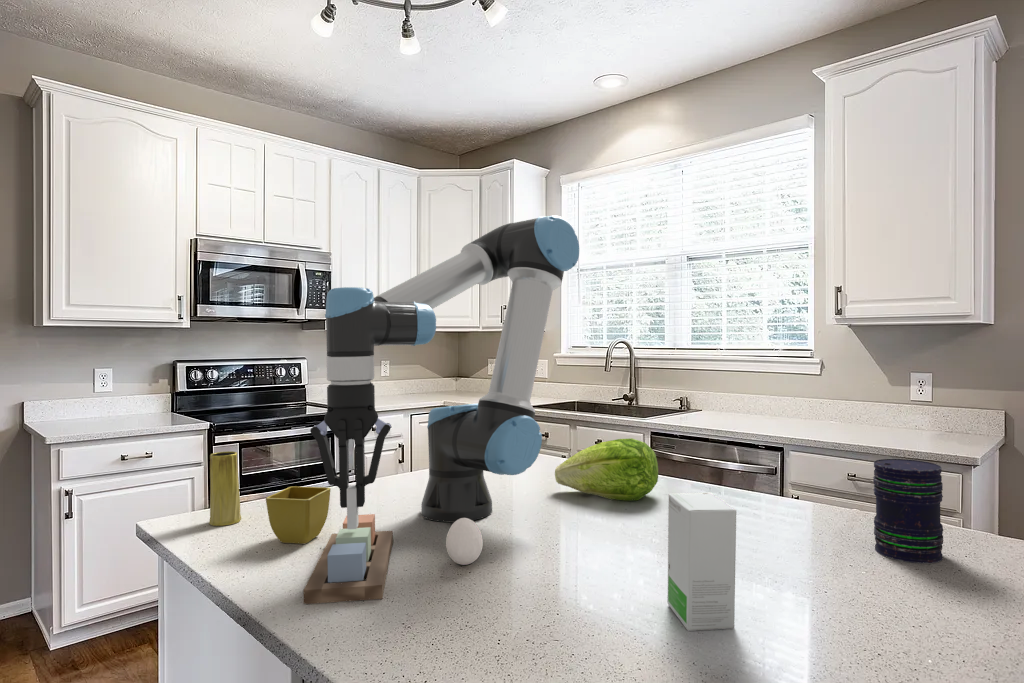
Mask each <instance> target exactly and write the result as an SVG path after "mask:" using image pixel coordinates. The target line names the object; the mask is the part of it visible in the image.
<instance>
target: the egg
mask: <svg viewBox="0 0 1024 683" xmlns="http://www.w3.org/2000/svg"><path fill="white" fill-rule="evenodd" d="M482 535H483V534H482V532H481V530H480V528H479V526H478V524H476V522H475V521H474V520H470V519H468V518H460V519H458V520H457V521H455V522H452V524H451V526H450V527H449V530H448V532H447V534H446V539H445V546H446V548H445V549H446V552H447V553H448V556H449V557H450V559H451V560H452V561H453V562H454V563H456V564H458V565H461V566H468V565H471V564H472V563H473V562H475V561H476V560H478V558H479V556H480V555H481V553H482V550H483V544H484V543H483V536H482Z"/></svg>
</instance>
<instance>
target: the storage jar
mask: <svg viewBox="0 0 1024 683" xmlns="http://www.w3.org/2000/svg"><path fill="white" fill-rule="evenodd" d="M873 468H874V470H873V489H872V490H873V494H874V495H875V515H874V518H873V519H874V520H873V524H874V526H873V535H874V541H875V546H874V549H875V551H876V553H877V554H879V555H881V556H883V557H886V558H888V559H893V560H895V561H899V562H903V563H911V564H912V563H913V564H926V565H927V564H936V563H939V562H942V560H943V559H944V558H943V556H944V555H943V553H942V551H943V544H944V534H943V533H944V528H943V524H942V523H941V503H942V501H943V497H944V496H943V482H942V477H943V476H942V475H941V474H942V466H941V465H939V464H936V463H933V462H928V461H924V460H915V459H903V458H882V459H877V460H874V461H873Z"/></svg>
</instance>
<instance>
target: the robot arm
mask: <svg viewBox="0 0 1024 683" xmlns="http://www.w3.org/2000/svg"><path fill="white" fill-rule="evenodd" d="M578 238H579V237H578V236H577V234H576V231H575V229H574V227H573V225H572V224H571V223H570V222H569V221H568V220H567V219H565V218H564V217H562V216H559V215H555V214H554V215H540V216H538V217H537V218H531V219H526V220H521V221H516V222H510V223H507V224H503V225H500V226H498V227H495V228H494V229H492V230H490V231H489V232H487V233H484V234H483V235H481V236H480V237H477V239H474V240H473V241H471V242H469V243H467V244H466V245H464V246H463V247H462V248H461V250H460V252H459V253H458V254H456V255H454V256H452V257H450V258H448V259H446V260H444V261H442V262H441V263H438V264H437V265H435V266H434V265H433V266H432V267H431V268H429V269H427V270H425V271H423V272H421V273H420V274H417V275H415V276H413V277H411V278H410V279H407V280H405V281H404V282H401V283H400V284H397V285H395V286H394V287H392V288H390V289H388V290H386V291H384V292H382V293H380V294H377V295H376V296H374V293H373V290H372V289H371V288H368V287H357V286H356V287H355V286H354V287H353V286H352V287H351V286H349V287H346V286H345V287H344V286H343V287H335V288H331V289H330V290H328V292H327V295H326V302H325V314H324V317H325V323H326V324H325V326H326V327H325V331H326V336H325V337H326V338H325V339H326V380H327V381H328V382H330V384H327V387H326V390H327V391H326V398H327V399H326V405H327V406H326V408H327V410H326V412H325V415H324V417H323V418H324V419H323V420H322V422H320V423H319V424H315V425H314V426H313V427H311V428H310V430H309V431H310V434H311V435H312V436H313V438H314V439H315V441H316V442H317V447H318V452H319V453H320V454H319V455H320V457H321V461H322V464H323V469H324V472H325V477H326V480H327V483H328V485H329V486H335V487H338V489H339V505H340V508H342V509H346V516H347V530H348V529H357V527H358V524H359V519H358V515H359V508H363V507H364V505H365V503H366V491H365V490H366V486H367V485H370V484H373V483H374V482H375V481H376V477H377V475H378V470H379V466H380V462H381V461H380V460H381V456H382V452H383V448H384V445H385V444H384V443H385V440H386V436H387V435H388V434H389V432H390V431H391V428H392V424H391V423H390V422H385V421H383V420H382V419H380V418H379V414H378V412H377V411H376V410H377V409H376V408H375V406H376V404H375V403H376V398H375V395H376V393H375V385H374V383H372V381H373V380H374V379H375V352H374V351H375V347H376V346H411V347H412V346H413V347H415V346H417V345H418V346H419V345H420V346H421V345H426V344H429V342H431V341H432V340H433V339H434V337H435V334H436V331H437V317H436V314H435V312H434V309H435V308H437V307H439V306H440V305H442V304H444V303H446V302H448V301H450V300H451V299H454V297H456V296H458V295H460V294H462V293H464V292H466V291H467V290H469V289H470V288H473V287H474V286H476V285H481V286H483V285H487V284H489V283H491V282H492V281H495V280H498V279H502V278H507V277H508V279H510V281H511V282H512V283H511V284H512V285H511V289H510V294H509V297H508V298H509V299H508V302H507V307H506V311H505V316H504V320H503V326H502V329H501V334H500V337H499V338H500V339H499V344H498V346H497V347H498V348H497V353H496V356H495V361H494V365H493V370H492V376H491V380H490V383H489V384H490V385H489V389H488V393H487V394H485V395H484V396H482V397H481V398H479V399H478V403H471V404H468V403H467V404H461V405H459V404H457V405H451V406H441V407H435V408H434V407H433V408H432V409H430V410H429V413H428V419H427V427H426V428H427V438H428V439H427V440H428V481H427V484H426V488H425V490H424V494H423V497H422V501H421V507H420V508H421V509H420V510H421V515H422V516H421V517H423V518H424V519H428V520H430V521H435V522H443V523H454V522H455V521H457V520H458V519H460V518H468V519H470V520H472V521H475V520H480V519H483V518H486V517H488V516H490V515H491V514H492V513H493V500H492V497H491V494H490V491H489V488H488V485H487V482H486V479H485V476H484V474H485V473H484V472H489V473H492V474H496V475H499V476H502V475H507V476H517V475H521V474H523V473H525V472H526V470H527V469H529V468H531V467H532V465H533V464H534V463H535V462H536V460H537V458H538V457H539V454H540V453H541V452H540V451H541V449H542V444H543V434H542V432H541V431H540V430H541V427H540V425H539V423H538V422H537V421H536V420H535V417H536V416H535V415H536V410H535V408H534V407H533V405H532V403H531V398H532V395H533V394H532V393H533V388H534V383H535V378H536V374H537V369H538V368H537V367H538V364H539V359H540V354H541V351H542V350H541V349H542V344H543V339H544V335H545V331H546V326H547V325H546V324H547V320H548V316H549V310H550V306H551V302H552V301H551V300H552V296H553V292H554V291H555V290H557V289H558V288H560V287H561V286H562V282H563V279H564V274H565V272H567V271H569V270H572V269H573V267H576V265H577V263H578V261H579V257H580V244H579V239H578ZM374 426H375V427H376V428H375V433H376V434H377V437H376V440H375V444H374V448H373V453H372V458H371V461H370V466H369V469H368V474H367V475H366V469H365V468H366V466H365V465H366V464H365V460H366V458H365V454H366V452H365V443H366V442H365V438H366V437H367V435H368V434H369V433H370V432H371V430H372V429H373V427H374ZM328 428H329V430H330V431H331V433H333V435H334V436H335V437H336V439H337V440H338V444H337V445H338V471H339V472H338V473H337V469H336V465H335V462H334V458H333V455H332V451H331V447H330V444H329V439H328V436H327V434H328V433H329V432H328ZM350 440H354V447H355V448H354V449H355V450H354V451H355V453H354V455H355V458H354V459H355V462H354V463H355V484H353V485H352V484H351V485H350V470H349V469H350V466H349V464H350V463H349V462H350V458H349V457H350V456H349V454H350V453H349V451H350V450H349V449H350V448H349V446H350V445H349V443H350ZM338 474H339V476H338Z"/></svg>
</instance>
